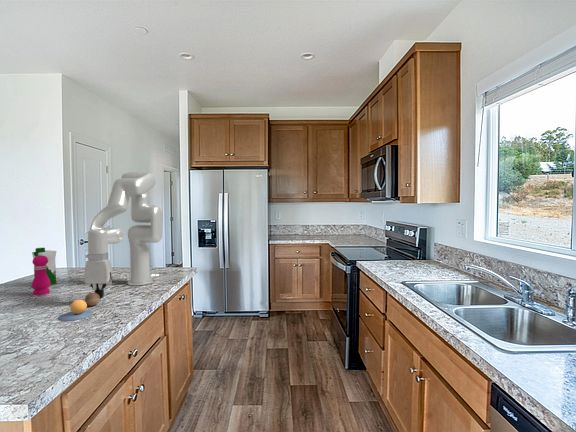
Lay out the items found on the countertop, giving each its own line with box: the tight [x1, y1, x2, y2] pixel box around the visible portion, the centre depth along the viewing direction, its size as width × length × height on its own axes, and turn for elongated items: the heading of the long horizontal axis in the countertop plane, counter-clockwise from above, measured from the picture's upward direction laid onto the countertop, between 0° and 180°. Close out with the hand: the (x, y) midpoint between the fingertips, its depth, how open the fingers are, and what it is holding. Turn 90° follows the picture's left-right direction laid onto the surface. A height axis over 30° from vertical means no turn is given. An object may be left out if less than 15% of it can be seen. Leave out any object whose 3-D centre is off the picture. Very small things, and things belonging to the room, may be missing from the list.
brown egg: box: [84, 292, 101, 307], centre depth 137 cm, size 6×6×6 cm
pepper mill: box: [31, 252, 51, 296], centre depth 156 cm, size 7×7×20 cm
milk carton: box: [31, 247, 57, 286], centre depth 173 cm, size 9×9×20 cm
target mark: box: [57, 310, 93, 322], centre depth 125 cm, size 11×11×1 cm
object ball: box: [69, 299, 88, 314], centre depth 127 cm, size 6×6×6 cm
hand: (99, 298), depth 143 cm, fingers closed
